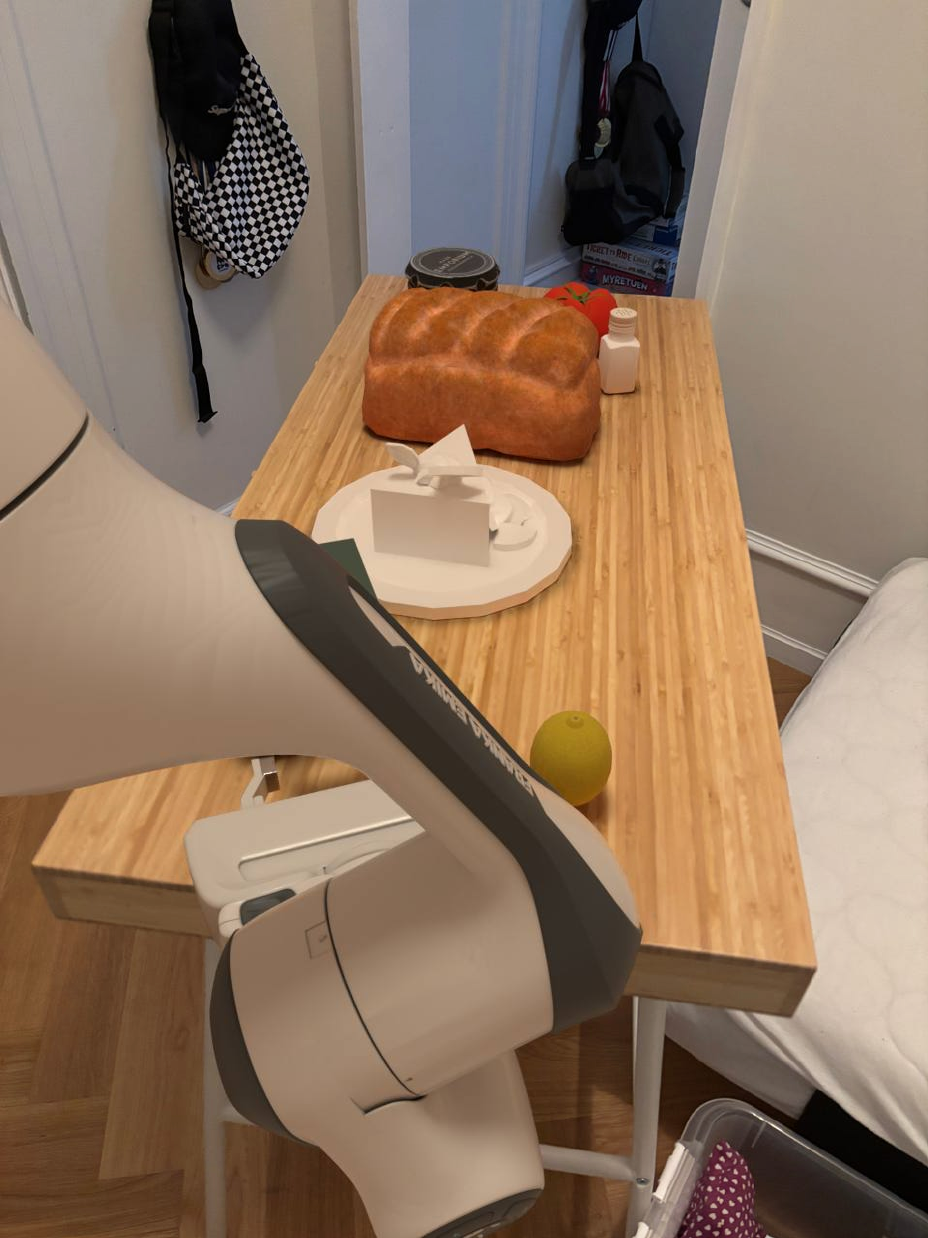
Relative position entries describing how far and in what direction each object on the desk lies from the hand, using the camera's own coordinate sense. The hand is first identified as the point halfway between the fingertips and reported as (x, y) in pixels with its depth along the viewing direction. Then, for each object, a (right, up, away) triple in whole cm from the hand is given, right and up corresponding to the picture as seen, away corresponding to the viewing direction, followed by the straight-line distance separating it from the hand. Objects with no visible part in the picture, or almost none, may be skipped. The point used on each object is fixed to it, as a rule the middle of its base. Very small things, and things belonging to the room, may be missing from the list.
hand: (334, 747), depth 62 cm
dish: (+6, +16, +29) cm, 34 cm away
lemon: (+16, -4, +4) cm, 17 cm away
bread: (+11, +31, +46) cm, 56 cm away
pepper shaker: (+27, +37, +54) cm, 71 cm away
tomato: (+24, +45, +64) cm, 82 cm away
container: (+7, +48, +67) cm, 82 cm away
